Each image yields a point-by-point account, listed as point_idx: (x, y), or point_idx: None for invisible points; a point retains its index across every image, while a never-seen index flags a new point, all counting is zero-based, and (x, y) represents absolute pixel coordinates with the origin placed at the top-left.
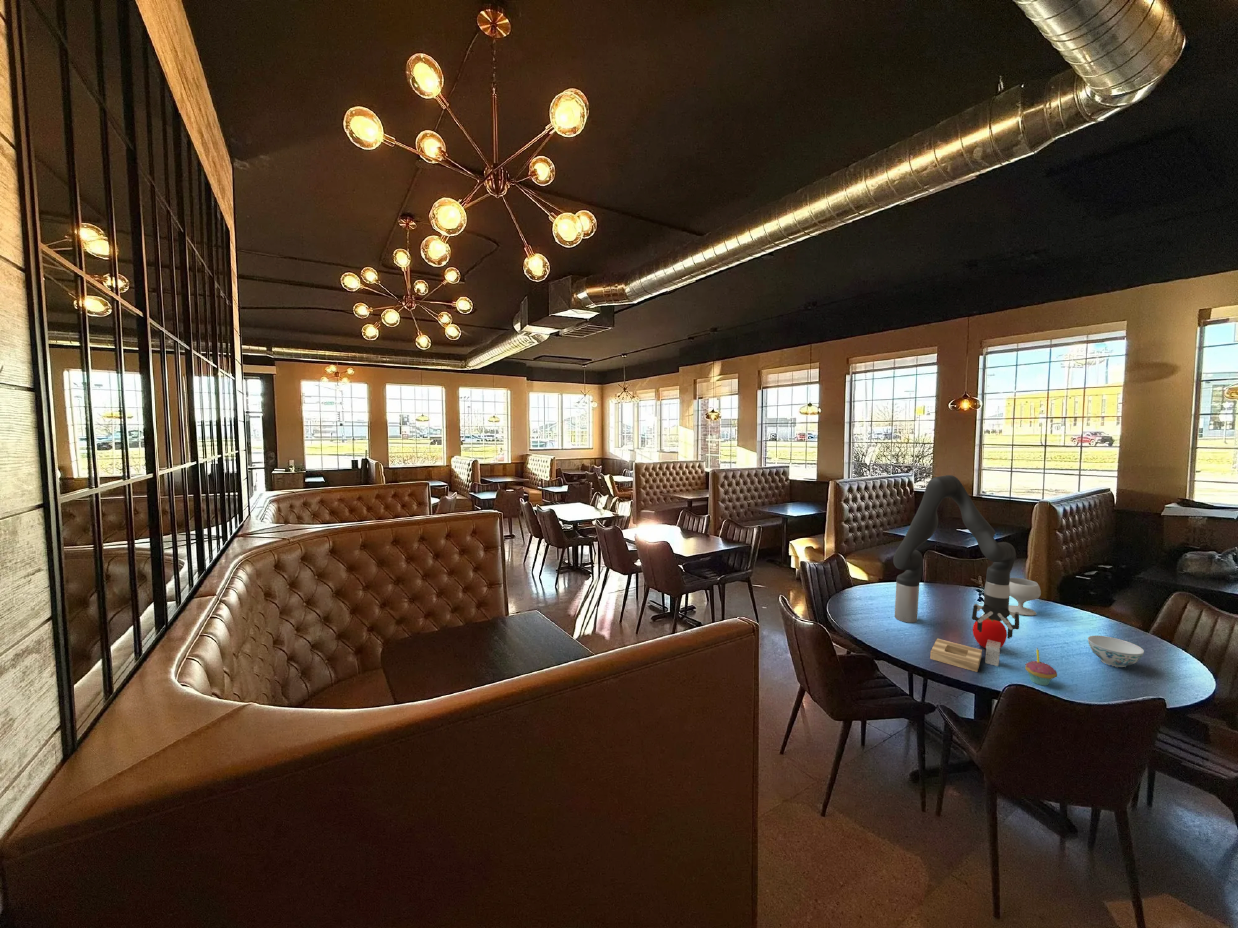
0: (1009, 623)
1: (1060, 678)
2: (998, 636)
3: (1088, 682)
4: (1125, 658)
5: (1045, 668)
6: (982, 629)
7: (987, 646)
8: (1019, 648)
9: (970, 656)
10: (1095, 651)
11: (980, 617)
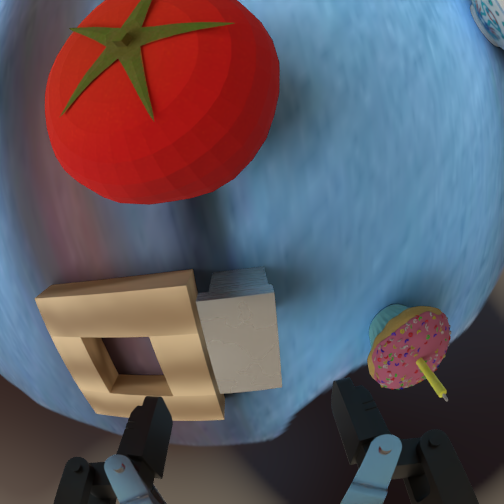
0: (379, 478)
1: (442, 239)
2: (238, 172)
3: (486, 206)
4: None
5: (425, 377)
6: (118, 201)
7: (226, 391)
8: (303, 21)
9: (181, 384)
10: (496, 28)
11: (121, 491)
